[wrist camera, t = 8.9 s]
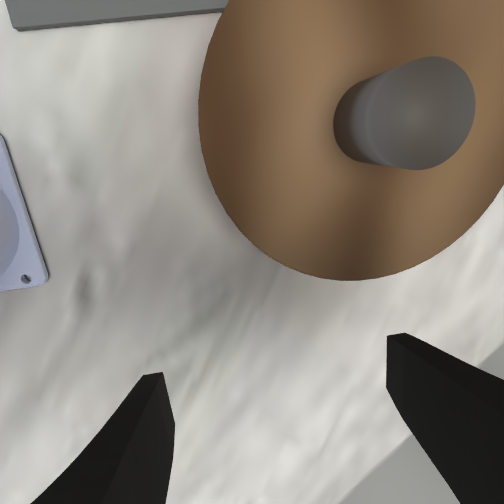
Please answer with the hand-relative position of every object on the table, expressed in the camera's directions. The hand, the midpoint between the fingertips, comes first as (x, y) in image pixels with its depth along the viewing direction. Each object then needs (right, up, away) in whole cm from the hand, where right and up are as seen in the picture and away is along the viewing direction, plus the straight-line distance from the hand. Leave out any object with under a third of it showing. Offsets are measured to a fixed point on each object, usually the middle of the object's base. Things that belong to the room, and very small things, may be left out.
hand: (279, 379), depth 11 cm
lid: (+4, +9, +3) cm, 10 cm away
